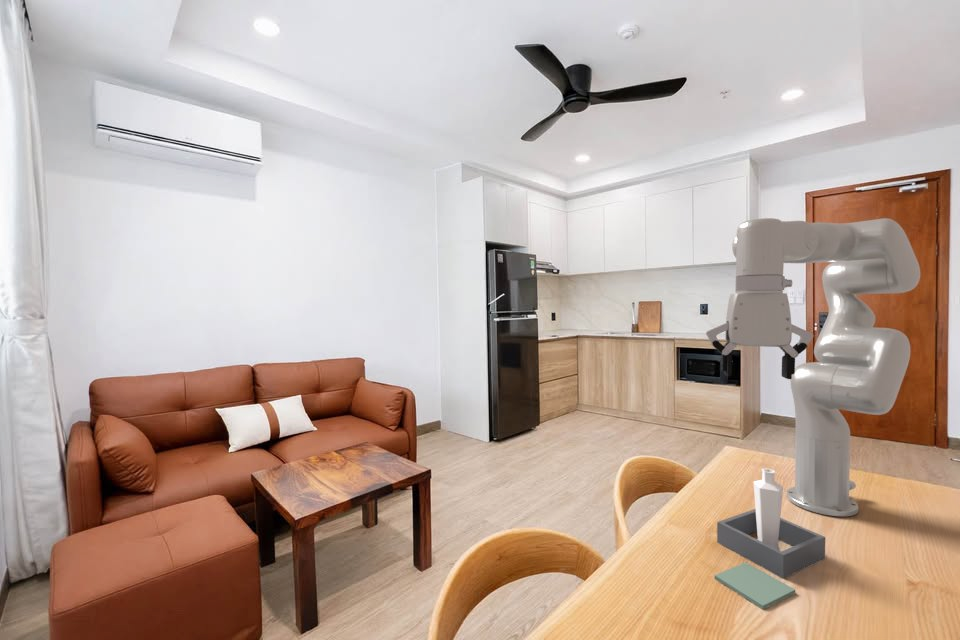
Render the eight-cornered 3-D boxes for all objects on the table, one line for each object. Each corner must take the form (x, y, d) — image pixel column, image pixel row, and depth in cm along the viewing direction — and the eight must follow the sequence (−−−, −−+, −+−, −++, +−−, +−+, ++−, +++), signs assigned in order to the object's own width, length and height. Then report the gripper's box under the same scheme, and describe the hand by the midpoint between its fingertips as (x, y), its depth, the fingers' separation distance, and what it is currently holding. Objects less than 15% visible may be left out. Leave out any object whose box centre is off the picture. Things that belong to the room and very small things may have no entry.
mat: (745, 565, 75) (745, 562, 75) (795, 593, 68) (795, 589, 68) (714, 578, 72) (714, 575, 72) (762, 609, 65) (762, 605, 65)
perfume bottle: (788, 558, 77) (789, 476, 76) (761, 556, 78) (761, 475, 77) (776, 544, 81) (777, 466, 81) (750, 542, 82) (751, 465, 82)
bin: (757, 527, 88) (757, 507, 87) (825, 559, 77) (825, 537, 76) (717, 542, 83) (717, 521, 82) (783, 578, 72) (783, 555, 72)
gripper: (805, 286, 82) (803, 376, 83) (704, 287, 88) (702, 371, 88) (822, 284, 75) (819, 382, 75) (710, 285, 81) (709, 377, 81)
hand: (756, 376), depth 82 cm, fingers open, 9 cm apart
